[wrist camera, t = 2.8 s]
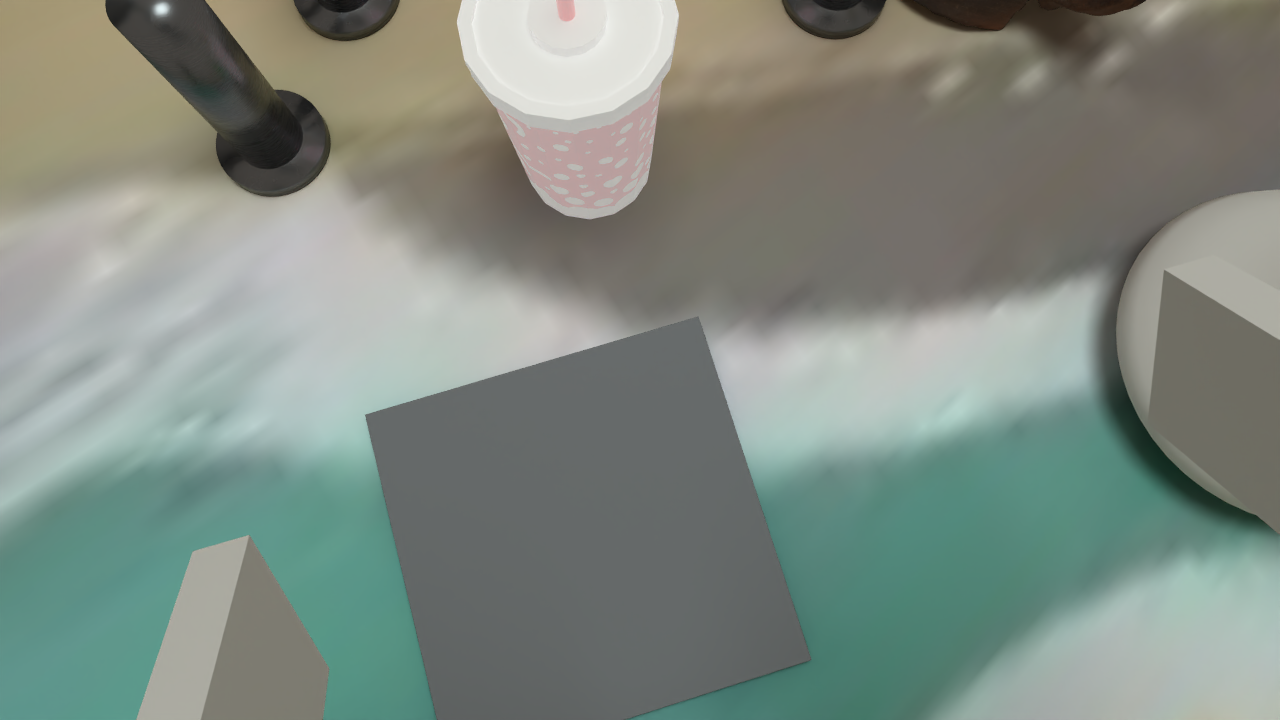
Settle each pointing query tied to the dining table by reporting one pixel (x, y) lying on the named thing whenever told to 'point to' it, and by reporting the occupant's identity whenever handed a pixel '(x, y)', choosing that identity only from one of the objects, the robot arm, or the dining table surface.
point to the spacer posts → (288, 123)
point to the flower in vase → (1226, 227)
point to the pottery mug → (1015, 9)
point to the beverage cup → (574, 90)
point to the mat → (584, 536)
